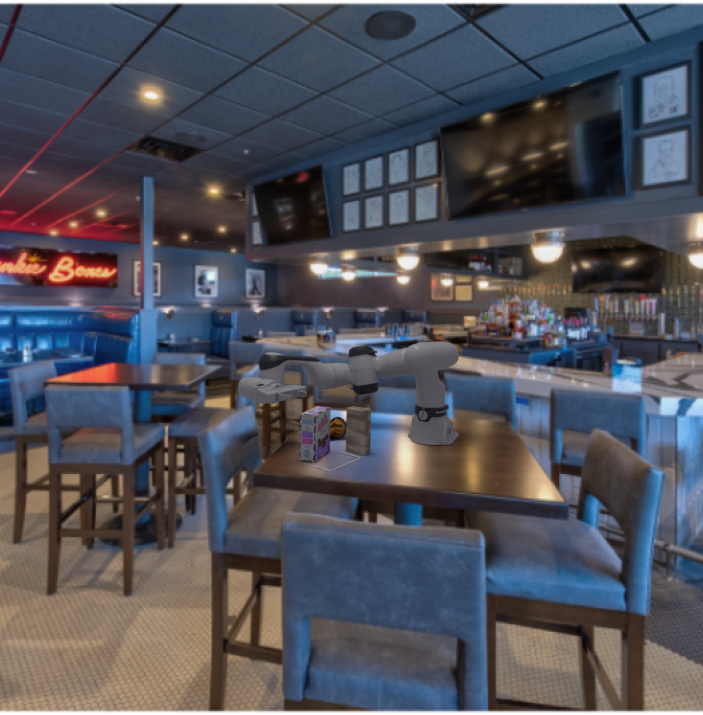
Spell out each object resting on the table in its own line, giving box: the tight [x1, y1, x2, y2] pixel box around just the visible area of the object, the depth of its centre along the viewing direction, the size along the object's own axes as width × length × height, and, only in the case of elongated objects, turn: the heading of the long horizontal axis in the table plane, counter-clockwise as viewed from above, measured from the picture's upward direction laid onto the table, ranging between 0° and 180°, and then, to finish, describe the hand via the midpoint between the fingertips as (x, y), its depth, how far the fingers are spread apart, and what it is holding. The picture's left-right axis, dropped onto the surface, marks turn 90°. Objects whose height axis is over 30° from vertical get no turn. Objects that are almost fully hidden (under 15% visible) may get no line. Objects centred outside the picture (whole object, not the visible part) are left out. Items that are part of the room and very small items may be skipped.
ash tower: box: [345, 405, 372, 457], centre depth 167 cm, size 4×8×16 cm, turn 53°
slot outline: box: [308, 451, 364, 473], centre depth 158 cm, size 18×9×1 cm, turn 143°
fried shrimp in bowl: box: [330, 416, 346, 442], centre depth 182 cm, size 9×11×18 cm
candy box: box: [299, 405, 332, 463], centre depth 162 cm, size 14×6×16 cm, turn 160°
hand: (298, 396), depth 166 cm, fingers open, 6 cm apart
